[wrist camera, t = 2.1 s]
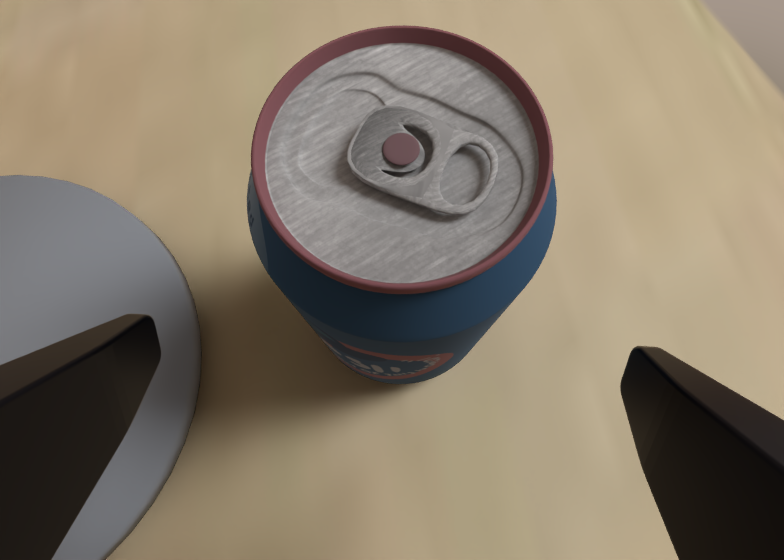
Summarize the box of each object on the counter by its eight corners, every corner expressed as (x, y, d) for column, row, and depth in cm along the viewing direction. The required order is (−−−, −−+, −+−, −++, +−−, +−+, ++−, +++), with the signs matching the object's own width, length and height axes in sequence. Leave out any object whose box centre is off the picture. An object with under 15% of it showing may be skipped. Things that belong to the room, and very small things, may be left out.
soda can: (290, 345, 20) (144, 232, 9) (360, 207, 22) (318, -39, 10) (445, 415, 19) (514, 392, 8) (504, 264, 21) (631, 64, 9)
